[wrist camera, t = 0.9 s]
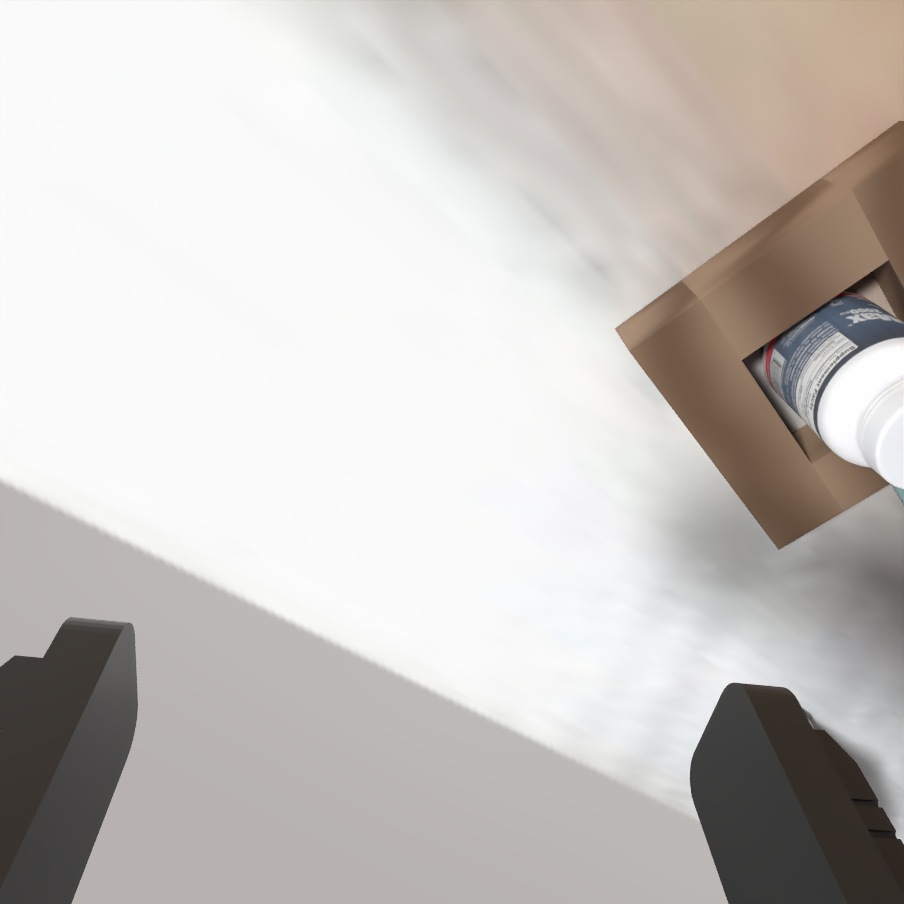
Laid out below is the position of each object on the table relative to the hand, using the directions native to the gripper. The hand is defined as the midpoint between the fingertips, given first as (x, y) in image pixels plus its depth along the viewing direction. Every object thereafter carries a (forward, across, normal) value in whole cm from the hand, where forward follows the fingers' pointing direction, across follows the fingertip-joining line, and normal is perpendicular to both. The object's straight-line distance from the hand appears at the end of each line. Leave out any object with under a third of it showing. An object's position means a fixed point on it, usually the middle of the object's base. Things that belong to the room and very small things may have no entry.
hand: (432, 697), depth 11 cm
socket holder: (+24, -18, +2) cm, 30 cm away
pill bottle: (+24, -18, +2) cm, 30 cm away
